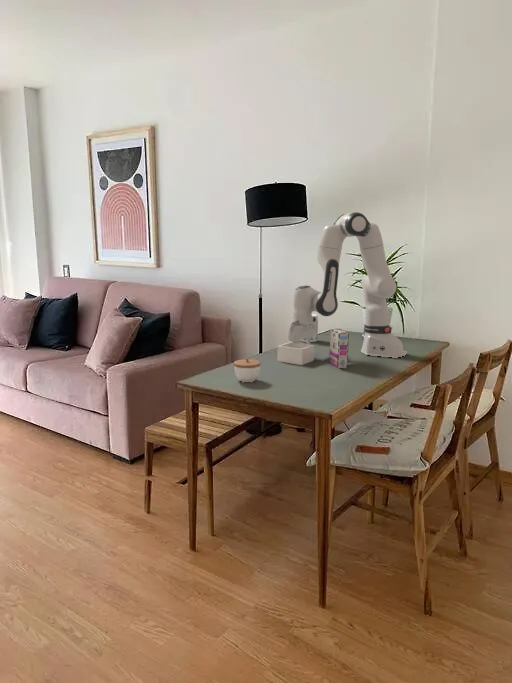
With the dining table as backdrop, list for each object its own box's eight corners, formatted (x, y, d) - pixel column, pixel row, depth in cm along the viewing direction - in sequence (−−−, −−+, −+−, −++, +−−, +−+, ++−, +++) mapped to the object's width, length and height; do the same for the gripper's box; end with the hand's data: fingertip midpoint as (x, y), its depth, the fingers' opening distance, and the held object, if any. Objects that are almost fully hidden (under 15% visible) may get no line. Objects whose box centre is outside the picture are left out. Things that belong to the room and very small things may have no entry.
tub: (313, 362, 247) (314, 345, 245) (301, 366, 238) (301, 349, 237) (290, 358, 254) (290, 341, 253) (277, 362, 246) (277, 345, 244)
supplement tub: (309, 338, 302) (309, 313, 299) (321, 341, 295) (321, 315, 292) (296, 340, 296) (297, 314, 293) (308, 343, 289) (309, 316, 286)
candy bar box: (348, 369, 234) (349, 332, 231) (337, 369, 233) (338, 332, 230) (339, 363, 245) (340, 328, 242) (328, 363, 244) (329, 328, 241)
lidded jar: (235, 377, 221) (234, 355, 219) (260, 377, 221) (260, 355, 219) (233, 384, 211) (233, 361, 209) (260, 384, 210) (260, 361, 209)
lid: (334, 358, 255) (334, 350, 254) (322, 362, 247) (323, 354, 246) (303, 353, 265) (303, 346, 264) (291, 358, 256) (291, 350, 256)
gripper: (296, 323, 246) (296, 352, 248) (318, 317, 262) (317, 345, 265) (285, 321, 249) (284, 350, 252) (307, 316, 265) (307, 343, 268)
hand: (302, 347), depth 258 cm, fingers open, 8 cm apart
